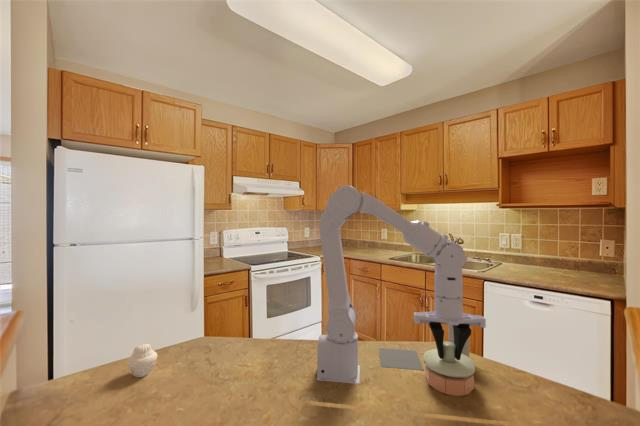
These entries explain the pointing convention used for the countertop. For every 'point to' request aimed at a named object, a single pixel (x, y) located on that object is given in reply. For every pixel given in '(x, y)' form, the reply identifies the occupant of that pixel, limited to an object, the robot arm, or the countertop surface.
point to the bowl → (450, 383)
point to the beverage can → (451, 339)
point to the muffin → (142, 360)
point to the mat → (400, 359)
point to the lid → (449, 362)
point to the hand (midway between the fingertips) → (448, 357)
